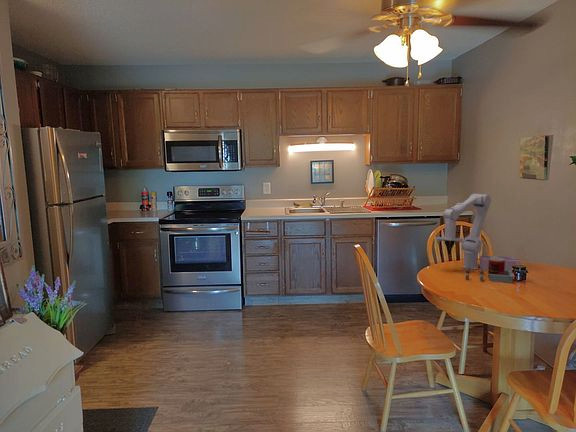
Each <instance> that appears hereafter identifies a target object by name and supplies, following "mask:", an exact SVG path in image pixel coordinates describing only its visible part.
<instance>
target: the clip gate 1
mask: <svg viewBox="0 0 576 432" xmlns="http://www.w3.org/2000/svg"><path fill="white" fill-rule="evenodd" d="M470 270H471V269H470V268H469V267H467V268H466V273H465V281H469V279H470V273H471V271H470Z"/></svg>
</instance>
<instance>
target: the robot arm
mask: <svg viewBox="0 0 576 432" xmlns="http://www.w3.org/2000/svg"><path fill="white" fill-rule="evenodd" d="M491 202H492V199H491V196H490V195H489V194H488V193H486V194H485V193H482V194H481V193H472V194H470V195H469V197H468V198H467V199H466V200H464V201H463V202H457V203H456V204H455V205H454V206H452V207H450V208H446V209H445V210H444V211H443V213H442V217H443V222H444V236H435V241H436V242H438V241H439V242H444V245H445V247H446V251H447V255H451V254H452V250H453V248H454V245H455V244H456V243H461V250H462V251H463V252H462V253H463V254H464V255H463V259H464V260H463V265H462V269H467V267H469V268H470V270H479V265H478V259H479V258H478V257H479V254H480V253H481V251H482V245H483V242H482V240H481V238H480V236H481V233H482V231H483V227H484V223H485V220H486V217H487V214H488V212H489V211H488V210H489V208H490V206H491ZM471 206H473V207H474V208H475V209H476V213H475V217H474V220H473V223H472V225H471V229H470V232H469V235H467V236H466V237H464V238H461V237H456V235H457V234H456V232H457V220H458V219H459V217H460V215H461V214H463V213H464V212H466V210H467V208H469V207H471Z"/></svg>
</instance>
